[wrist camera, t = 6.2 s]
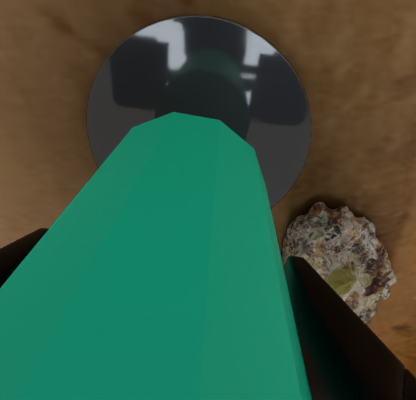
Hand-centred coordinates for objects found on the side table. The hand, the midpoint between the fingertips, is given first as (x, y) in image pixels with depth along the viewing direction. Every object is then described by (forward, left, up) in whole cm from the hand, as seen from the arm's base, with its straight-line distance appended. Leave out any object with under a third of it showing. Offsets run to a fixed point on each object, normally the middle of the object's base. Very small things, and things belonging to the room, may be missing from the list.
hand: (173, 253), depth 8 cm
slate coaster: (0, 0, -8) cm, 8 cm away
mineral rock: (-11, 0, -8) cm, 14 cm away
